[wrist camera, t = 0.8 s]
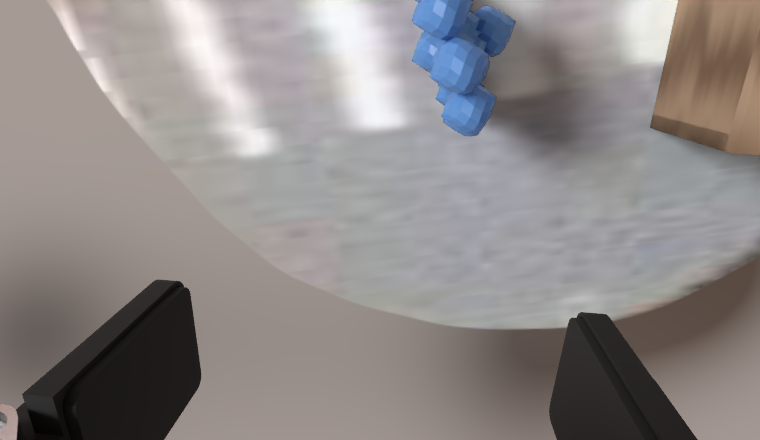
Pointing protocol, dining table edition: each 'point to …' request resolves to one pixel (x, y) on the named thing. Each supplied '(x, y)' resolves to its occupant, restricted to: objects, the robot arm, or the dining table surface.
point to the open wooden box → (713, 76)
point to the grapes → (460, 57)
